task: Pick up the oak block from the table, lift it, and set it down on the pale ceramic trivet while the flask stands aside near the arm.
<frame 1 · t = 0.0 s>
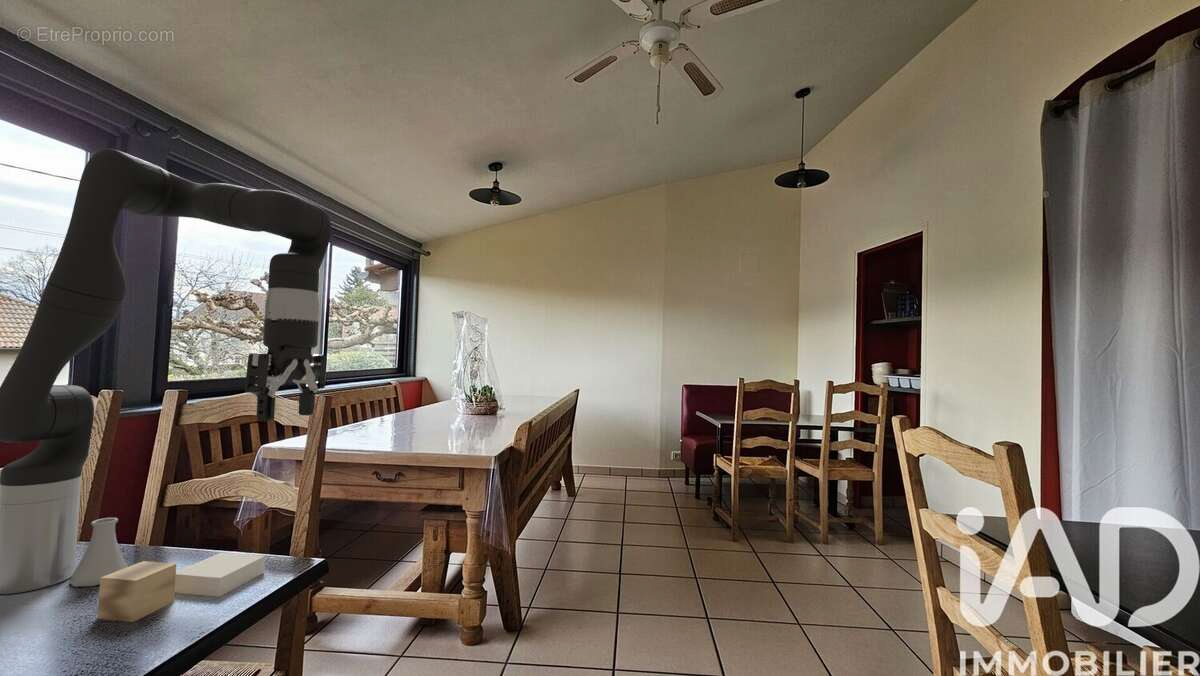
hand: (286, 417, 78), 29 cm above the table, tool pointing down, fingers open, 8 cm apart
trivet: (219, 582, 83), on the table
flask: (100, 580, 84), on the table
oak block: (137, 610, 74), on the table
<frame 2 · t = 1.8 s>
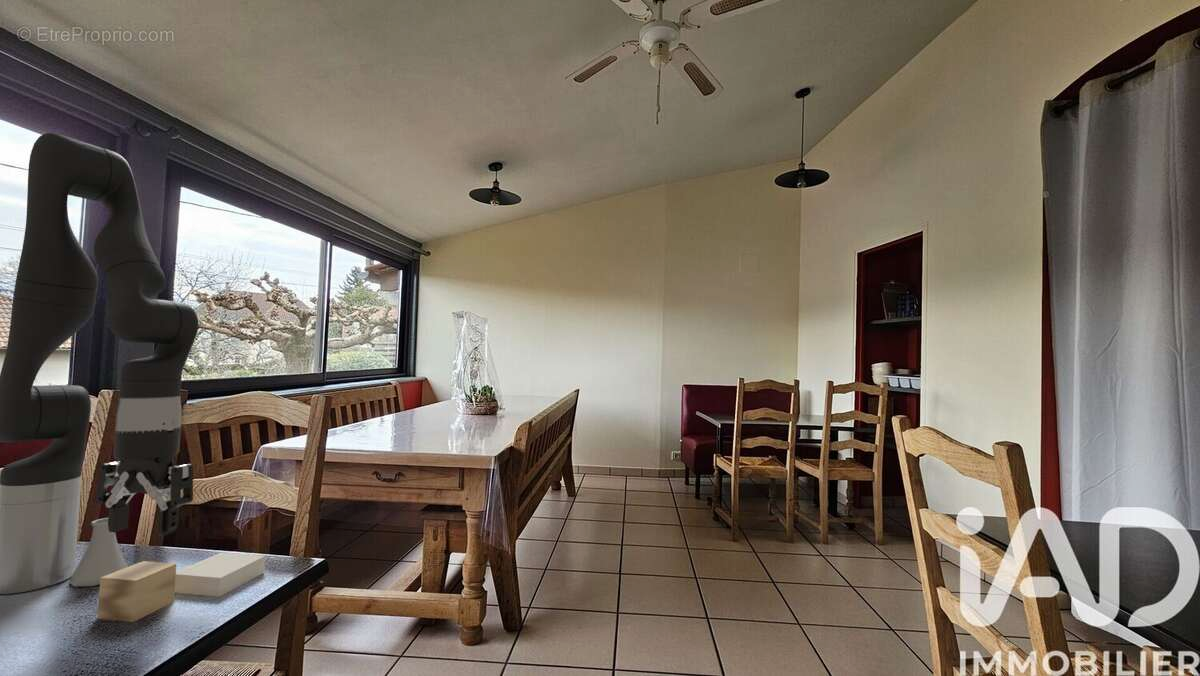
hand: (142, 532, 74), 12 cm above the table, tool pointing down, fingers open, 8 cm apart
nothing on the table moved.
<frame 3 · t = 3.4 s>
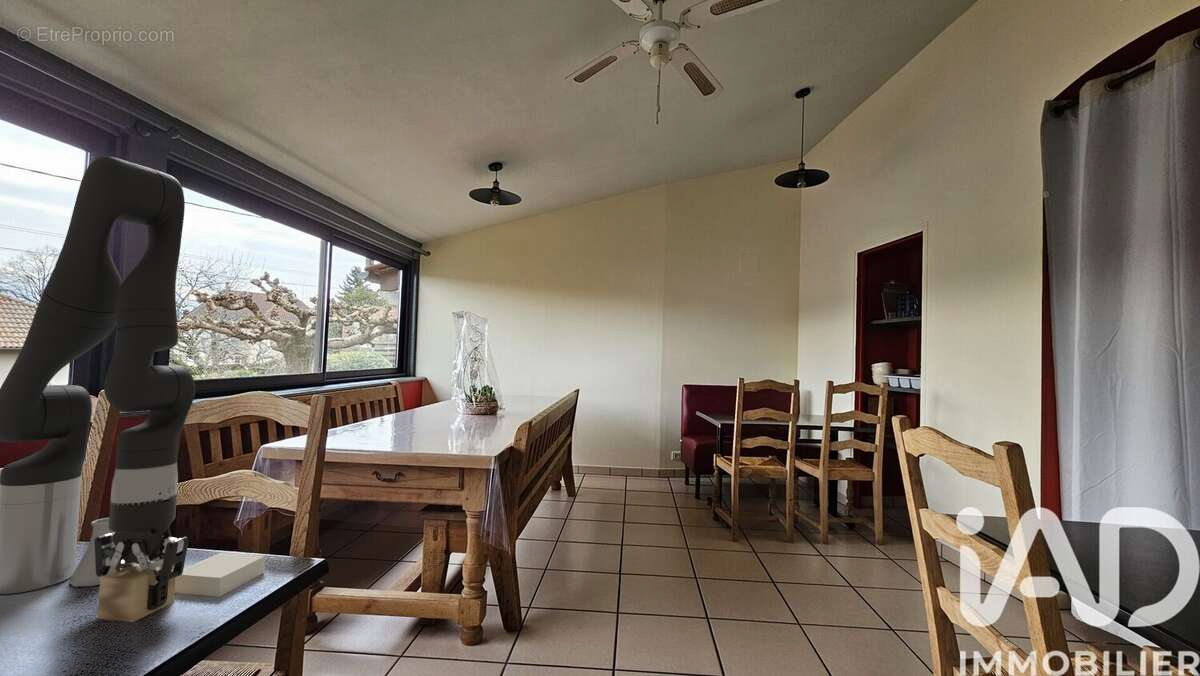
hand: (137, 605, 74), 1 cm above the table, tool pointing down, fingers closed on oak block, 6 cm apart
oak block: (137, 610, 74), on the table, touching gripper
everything else where it was.
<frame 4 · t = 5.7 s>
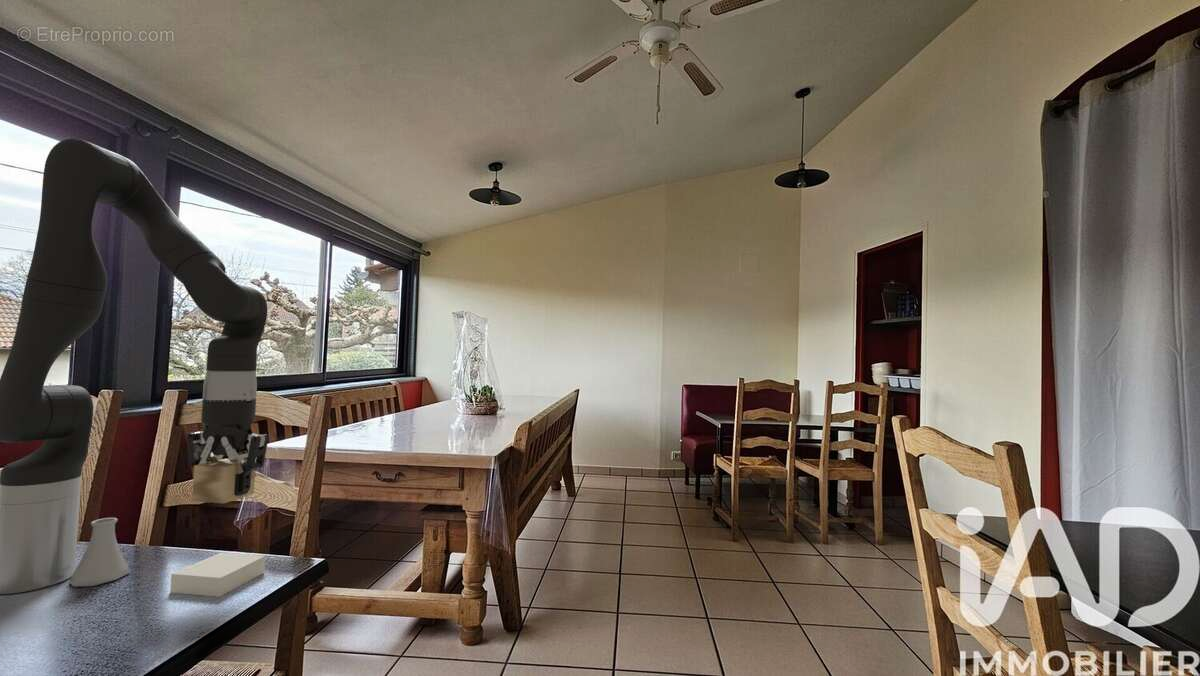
hand: (224, 493, 84), 15 cm above the table, tool pointing down, fingers closed on oak block, 6 cm apart
oak block: (223, 497, 84), point 14 cm above the table, touching gripper
everything else where it was.
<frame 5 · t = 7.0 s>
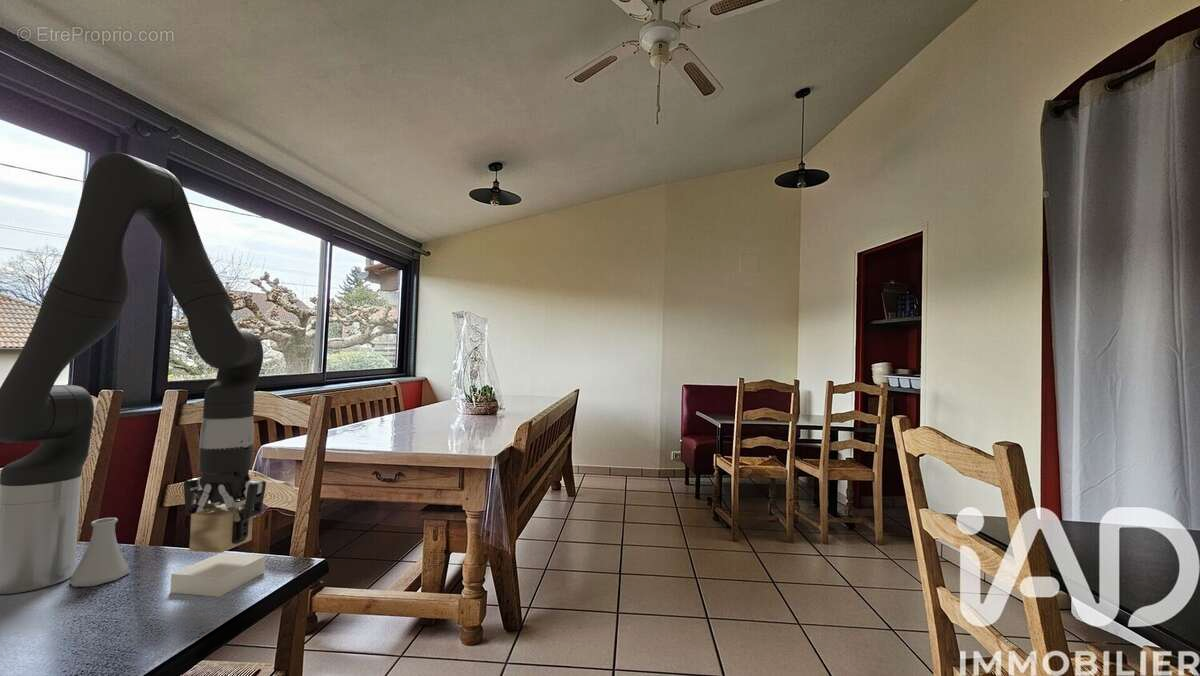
hand: (221, 540, 83), 7 cm above the table, tool pointing down, fingers closed on oak block, 6 cm apart
oak block: (221, 545, 83), point 6 cm above the table, touching gripper
everything else where it was.
when the fingers open (5 cm above the table, at t = 8.0 s): oak block drops 1 cm, resting on trivet.
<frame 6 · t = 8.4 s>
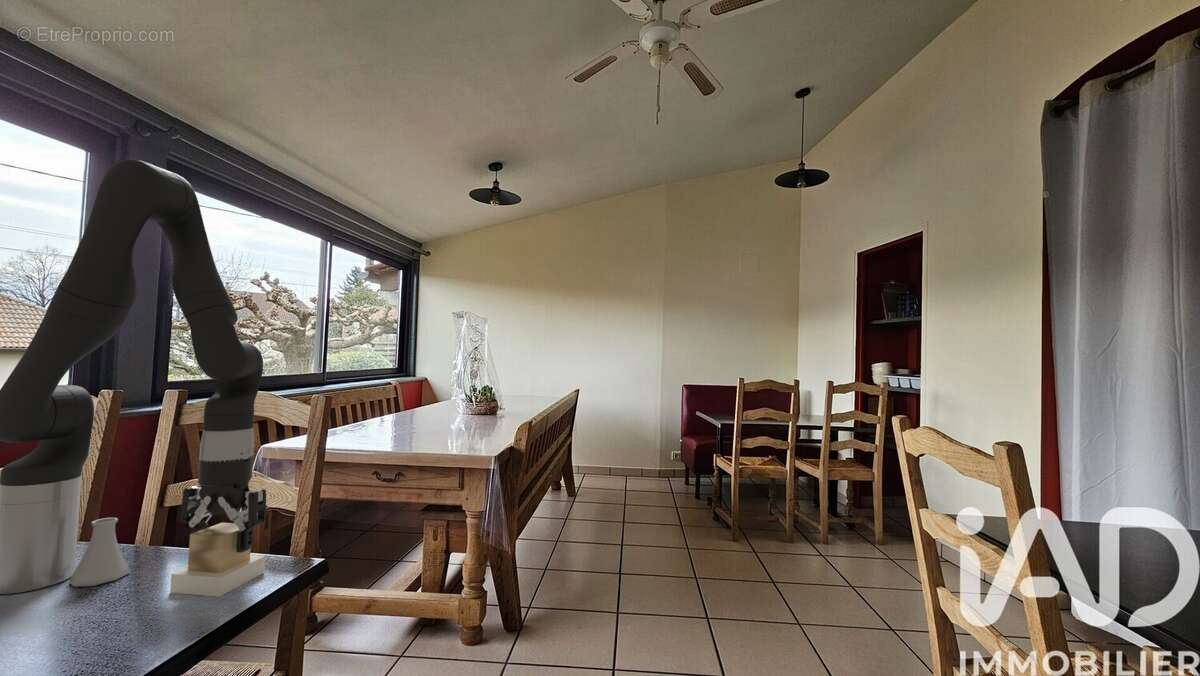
hand: (221, 549, 84), 6 cm above the table, tool pointing down, fingers open, 8 cm apart
oak block: (219, 564, 83), point 3 cm above the table, touching trivet
everything else where it was.
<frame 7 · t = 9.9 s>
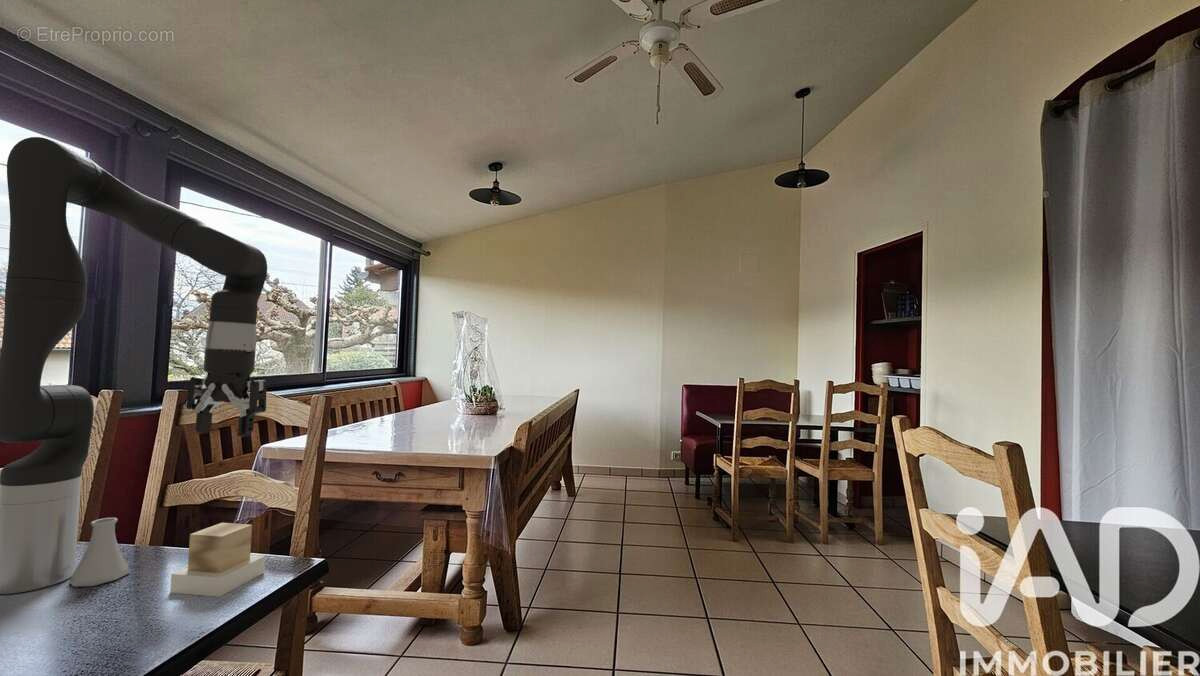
hand: (224, 434, 89), 24 cm above the table, tool pointing down, fingers open, 8 cm apart
nothing on the table moved.
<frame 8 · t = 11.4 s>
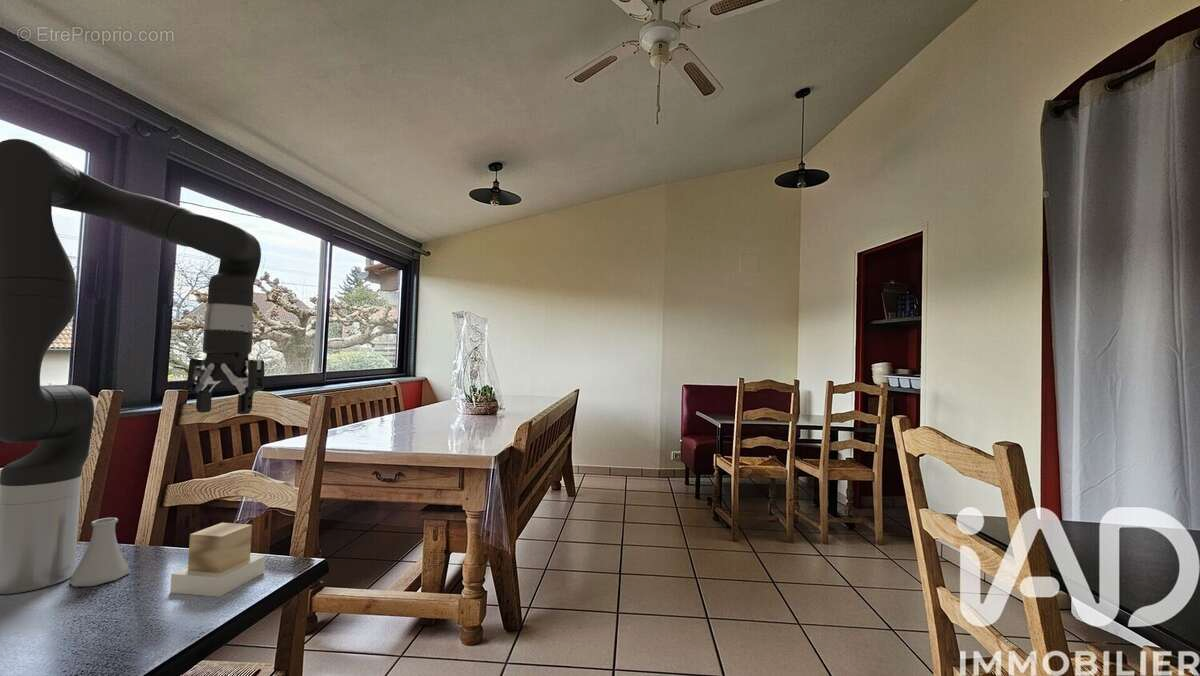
hand: (223, 413, 93), 28 cm above the table, tool pointing down, fingers open, 8 cm apart
nothing on the table moved.
at the end: oak block inside the target area on the trivet (0.1 cm from its centre), point 3.0 cm above the trivet's base; oak block tilted 0°; the gripper is holding nothing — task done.
